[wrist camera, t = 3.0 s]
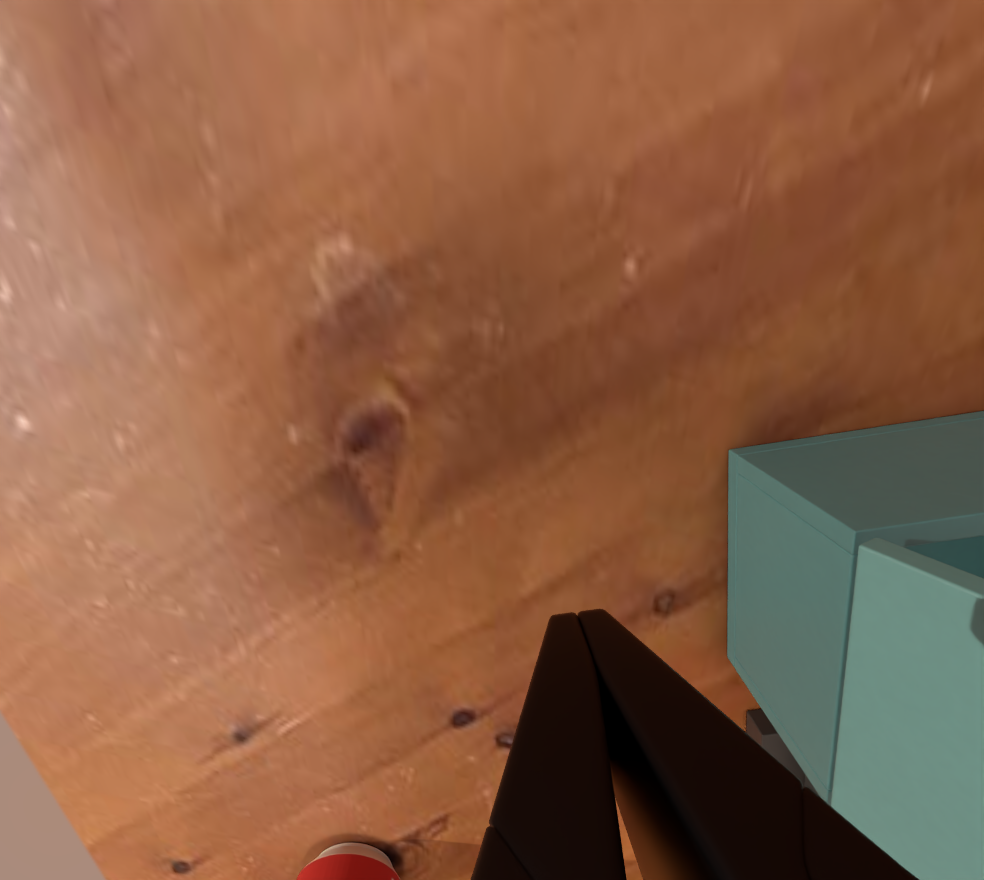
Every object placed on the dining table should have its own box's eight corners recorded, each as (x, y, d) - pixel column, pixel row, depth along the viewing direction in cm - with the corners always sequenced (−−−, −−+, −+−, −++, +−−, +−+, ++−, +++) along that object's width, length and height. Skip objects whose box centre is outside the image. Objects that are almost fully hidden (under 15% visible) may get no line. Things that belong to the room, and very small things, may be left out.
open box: (1042, 401, 20) (1338, 460, 13) (992, 619, 24) (1205, 757, 17) (727, 449, 20) (854, 531, 13) (726, 656, 24) (826, 806, 17)
